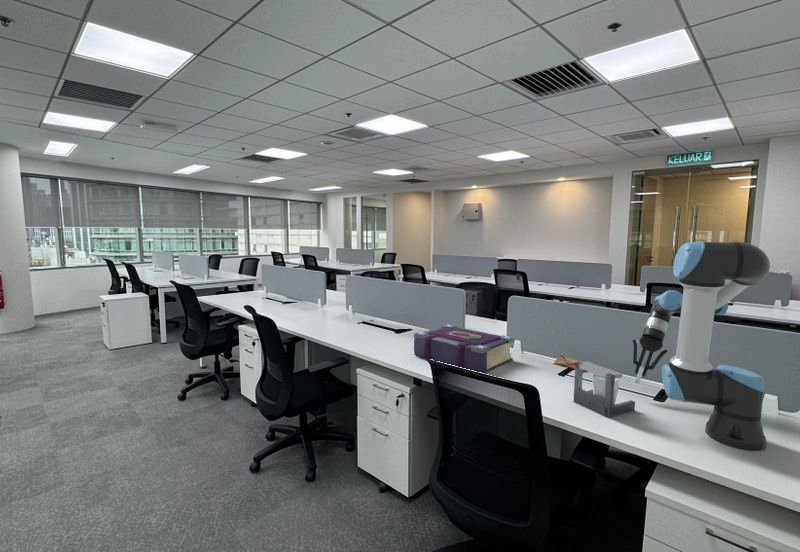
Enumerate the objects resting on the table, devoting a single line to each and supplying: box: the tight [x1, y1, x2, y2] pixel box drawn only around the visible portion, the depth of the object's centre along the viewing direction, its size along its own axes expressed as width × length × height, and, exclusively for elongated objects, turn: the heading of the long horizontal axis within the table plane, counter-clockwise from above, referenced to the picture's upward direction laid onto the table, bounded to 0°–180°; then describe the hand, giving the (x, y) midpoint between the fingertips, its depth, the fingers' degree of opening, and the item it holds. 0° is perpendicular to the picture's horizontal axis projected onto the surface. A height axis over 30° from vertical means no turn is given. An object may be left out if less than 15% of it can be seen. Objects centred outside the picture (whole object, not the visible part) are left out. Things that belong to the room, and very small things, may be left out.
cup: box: [592, 373, 620, 405], centre depth 149 cm, size 9×9×12 cm
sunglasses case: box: [552, 354, 588, 374], centre depth 198 cm, size 18×7×7 cm
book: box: [413, 324, 515, 374], centre depth 211 cm, size 33×45×14 cm
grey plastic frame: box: [572, 361, 636, 419], centre depth 150 cm, size 15×16×16 cm
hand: (637, 382), depth 157 cm, fingers closed
